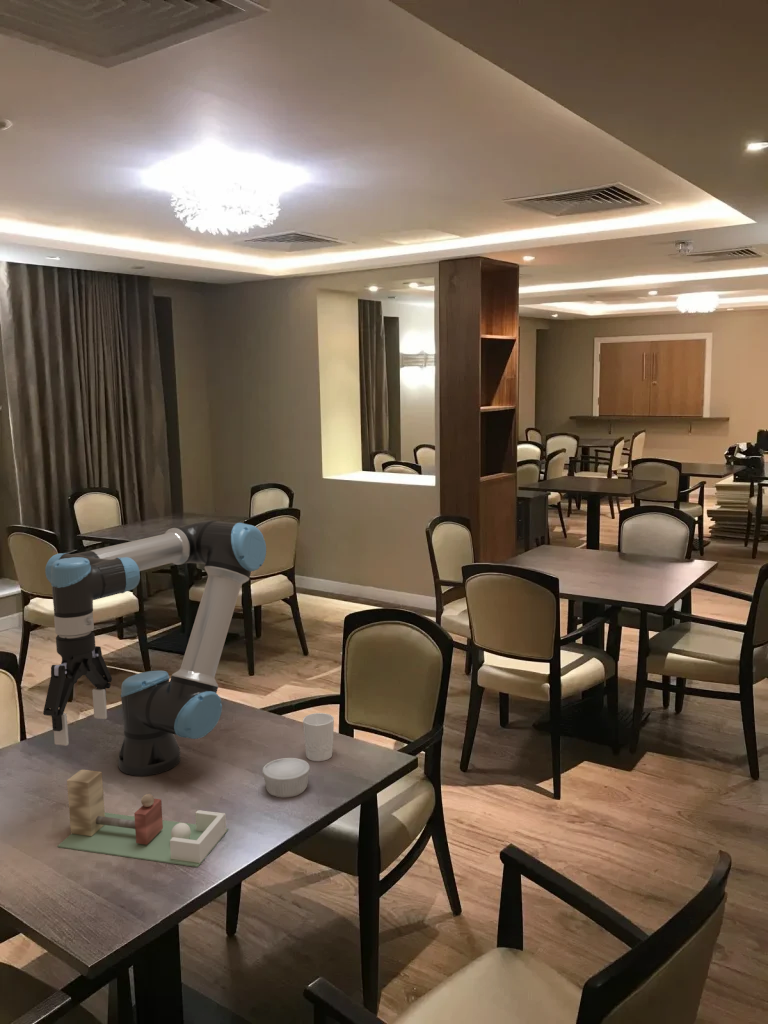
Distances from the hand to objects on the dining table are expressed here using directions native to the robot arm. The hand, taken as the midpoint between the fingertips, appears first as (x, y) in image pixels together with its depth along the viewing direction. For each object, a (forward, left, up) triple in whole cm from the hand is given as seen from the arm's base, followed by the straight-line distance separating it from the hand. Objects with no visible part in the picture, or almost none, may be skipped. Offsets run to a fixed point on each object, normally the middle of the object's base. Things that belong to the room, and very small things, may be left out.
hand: (82, 730), depth 168 cm
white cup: (+37, +45, -23) cm, 62 cm away
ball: (+22, 0, -20) cm, 30 cm away
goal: (+27, 0, -23) cm, 35 cm away
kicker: (+7, 0, -22) cm, 23 cm away
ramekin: (+35, +27, -23) cm, 50 cm away
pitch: (+13, 0, -23) cm, 26 cm away
